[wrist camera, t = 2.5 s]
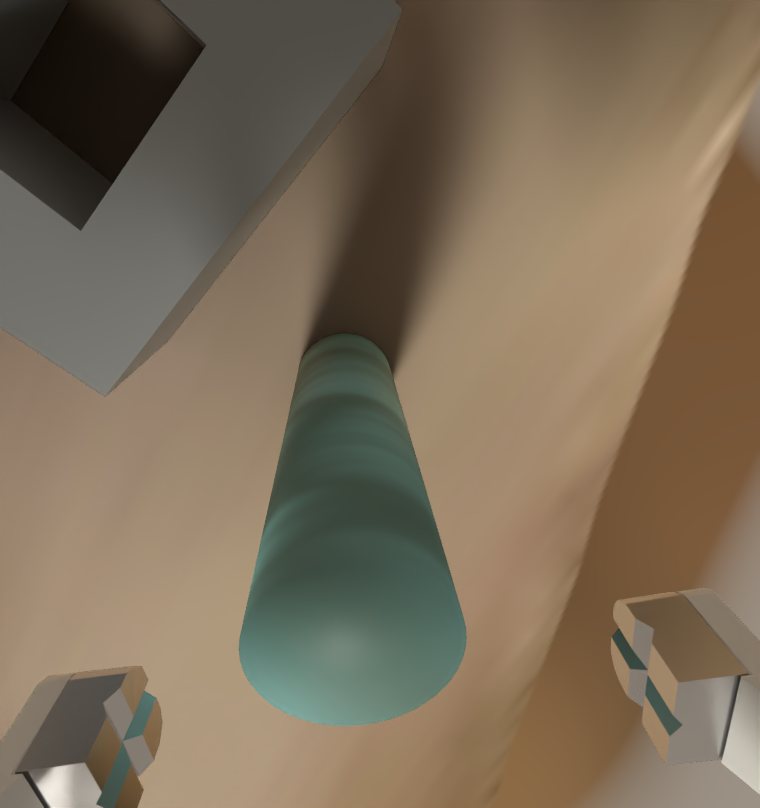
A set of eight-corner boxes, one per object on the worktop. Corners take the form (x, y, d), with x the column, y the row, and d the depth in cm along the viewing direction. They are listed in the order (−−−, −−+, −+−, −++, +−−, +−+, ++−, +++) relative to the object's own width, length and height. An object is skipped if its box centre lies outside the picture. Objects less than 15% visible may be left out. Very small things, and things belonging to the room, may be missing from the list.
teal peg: (349, 437, 23) (363, 752, 10) (278, 382, 22) (191, 664, 9) (409, 373, 22) (512, 633, 9) (339, 313, 21) (342, 515, 8)
